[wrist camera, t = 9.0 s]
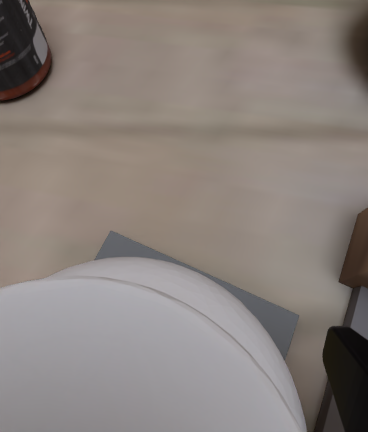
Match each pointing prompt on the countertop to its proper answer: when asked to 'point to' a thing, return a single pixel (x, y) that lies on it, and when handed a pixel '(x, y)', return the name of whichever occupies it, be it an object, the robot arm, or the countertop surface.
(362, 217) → the walnut gate
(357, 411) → the robot arm
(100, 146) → the countertop surface
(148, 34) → the countertop surface
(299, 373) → the countertop surface
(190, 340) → the supplement bottle
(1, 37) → the supplement bottle
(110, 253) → the slate mat
